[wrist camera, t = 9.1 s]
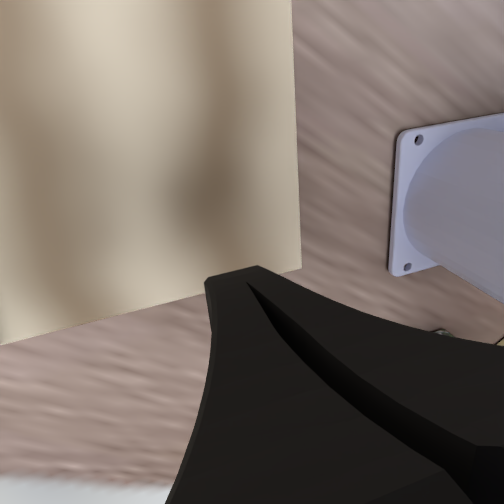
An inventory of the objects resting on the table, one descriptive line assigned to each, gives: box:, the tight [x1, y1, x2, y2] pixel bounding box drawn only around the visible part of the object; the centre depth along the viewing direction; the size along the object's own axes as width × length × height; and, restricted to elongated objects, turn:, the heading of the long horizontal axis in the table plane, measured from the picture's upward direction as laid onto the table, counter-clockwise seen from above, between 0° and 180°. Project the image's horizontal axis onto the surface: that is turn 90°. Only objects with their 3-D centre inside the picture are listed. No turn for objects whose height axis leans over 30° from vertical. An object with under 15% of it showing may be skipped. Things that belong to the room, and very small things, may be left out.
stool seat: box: [0, 0, 302, 345], centre depth 14 cm, size 18×14×5 cm
